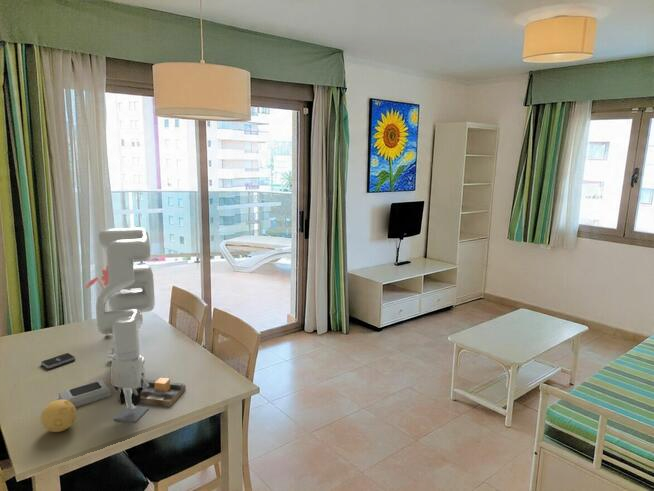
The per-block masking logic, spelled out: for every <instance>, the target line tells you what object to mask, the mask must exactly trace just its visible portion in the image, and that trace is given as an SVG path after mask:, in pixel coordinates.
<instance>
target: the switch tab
mask: <svg viewBox="0 0 654 491" xmlns="http://www.w3.org/2000/svg"><path fill="white" fill-rule="evenodd" d="M155 381H156V382H155V383H154V385H155V390H157V391H168V390H169V389H170V382H171V379H170V378H169V377H159V378H158V379H156V380H155Z"/></svg>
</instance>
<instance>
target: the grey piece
mask: <svg viewBox="0 0 654 491" xmlns="http://www.w3.org/2000/svg"><path fill="white" fill-rule="evenodd" d="M146 381H147V382H148V383H149V386H148V387H147V388H146V389H144V390H142V391H141V392H140V393H141V401H140V403H139V404H143V405H144V404H145V405H154V406H160V407H161V406H163V407H171V406H172V405H173V404H174V403H175V402H176V401H177V400H178V399H179V397H181V395H182V394H183V393H184V392H185V391H186V389H187V388H186V384H184V383H182V382H181V383H180V382H174V381H170V389H169V390H168V391H157V390H155V385H154V383H155V382H156V381H157V380H152V379H146ZM141 386H143V385H142V383H141ZM137 390H138V389H137ZM117 400H118V401H119V402H120V394H119V393H118V396H117Z"/></svg>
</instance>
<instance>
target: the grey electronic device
mask: <svg viewBox="0 0 654 491" xmlns="http://www.w3.org/2000/svg"><path fill="white" fill-rule="evenodd" d="M111 396H112V391H111V389H110V388H109V387H108V386H107V384H106V383H105V381H103V380H102V379H98V380H95V381H90V382H88V383H85V384H82V385H77V386H75V387H72V388H69V389H65V390H63V391H60V392H59V393H58V400H60V399H63V400H69V401H71V402H72V403H73V404H74V405H75V408H78V407H80V406H83V405H86V404H90V403H92V402H95V401H99V400H102V399H105V398H108V397H111Z"/></svg>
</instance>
